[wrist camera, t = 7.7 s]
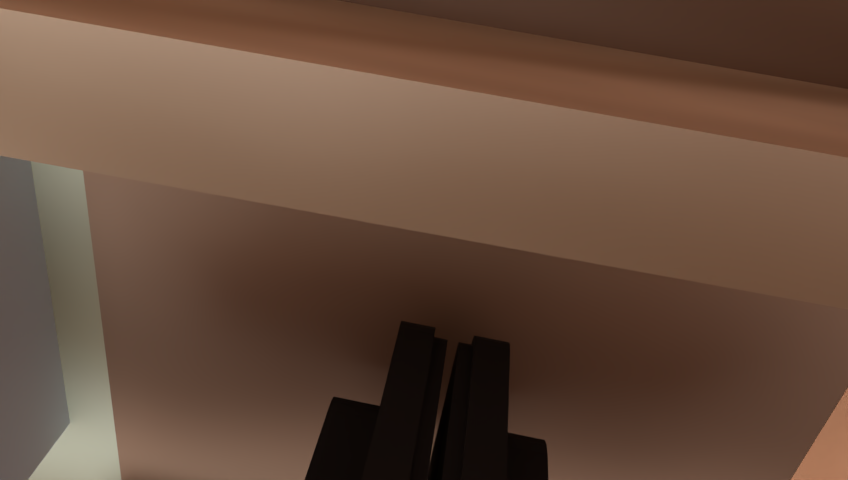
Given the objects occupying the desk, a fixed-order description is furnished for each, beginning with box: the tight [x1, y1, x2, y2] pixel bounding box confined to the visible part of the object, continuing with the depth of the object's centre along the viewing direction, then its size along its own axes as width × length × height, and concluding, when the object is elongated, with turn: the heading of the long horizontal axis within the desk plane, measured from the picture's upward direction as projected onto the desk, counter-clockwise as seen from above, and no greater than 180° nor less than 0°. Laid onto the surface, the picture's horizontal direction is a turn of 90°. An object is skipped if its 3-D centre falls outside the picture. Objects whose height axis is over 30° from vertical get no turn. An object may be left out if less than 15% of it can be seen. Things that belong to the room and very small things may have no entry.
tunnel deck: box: [0, 0, 848, 480], centre depth 12 cm, size 15×27×6 cm, turn 82°
